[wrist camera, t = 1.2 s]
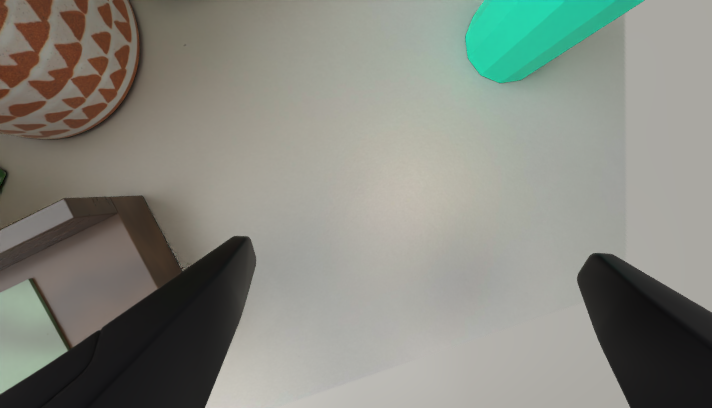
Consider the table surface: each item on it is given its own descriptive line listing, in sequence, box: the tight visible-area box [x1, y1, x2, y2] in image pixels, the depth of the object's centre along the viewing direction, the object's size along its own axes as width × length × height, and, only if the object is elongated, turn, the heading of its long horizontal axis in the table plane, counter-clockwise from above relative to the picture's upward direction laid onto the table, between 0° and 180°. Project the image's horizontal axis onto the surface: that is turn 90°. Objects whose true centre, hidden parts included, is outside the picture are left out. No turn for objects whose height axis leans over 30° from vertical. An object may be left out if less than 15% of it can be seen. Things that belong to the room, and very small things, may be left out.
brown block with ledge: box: [0, 196, 182, 394], centre depth 19 cm, size 11×16×6 cm
